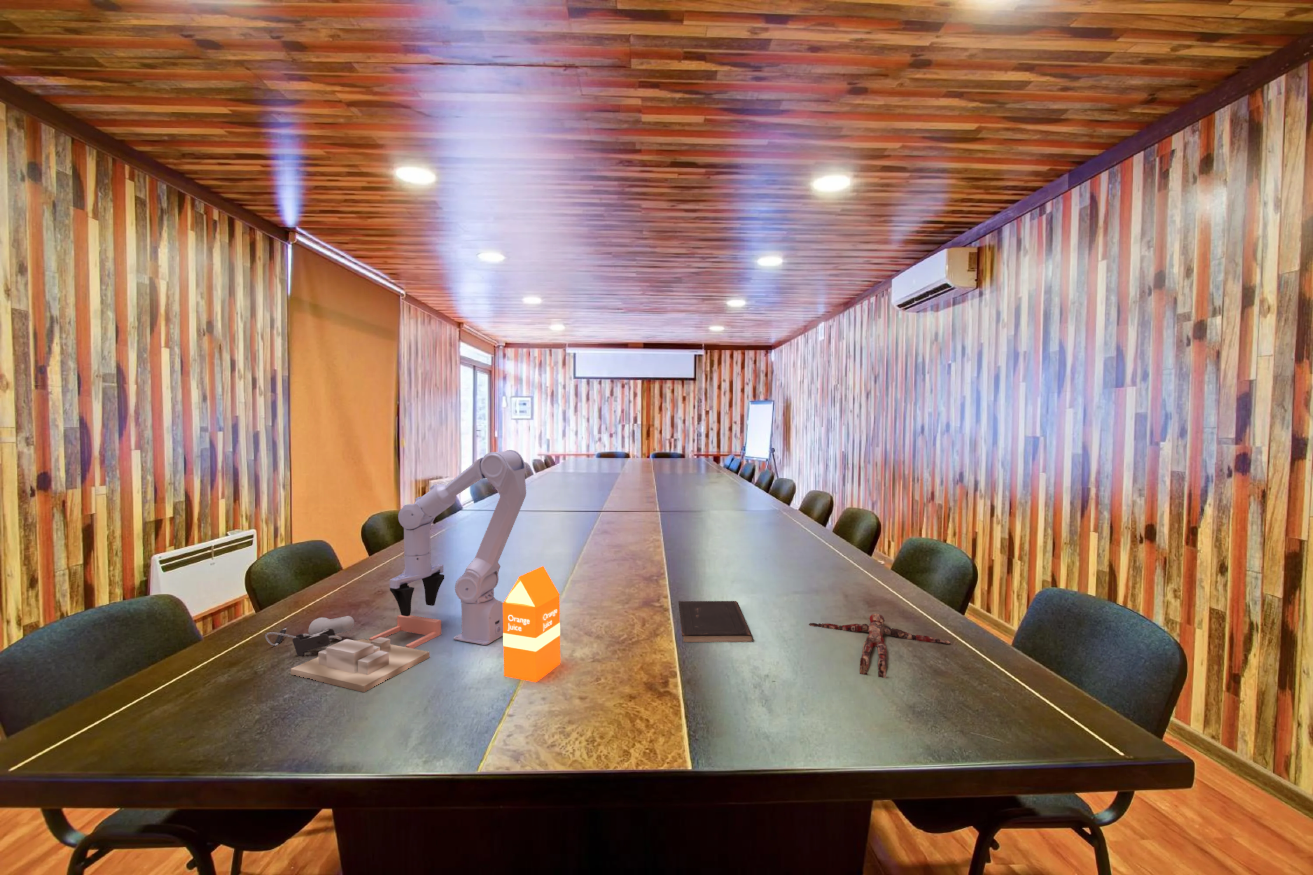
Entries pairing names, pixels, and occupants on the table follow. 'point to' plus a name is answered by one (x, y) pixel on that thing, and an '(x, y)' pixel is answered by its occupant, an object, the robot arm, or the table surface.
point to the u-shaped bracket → (414, 629)
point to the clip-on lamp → (317, 634)
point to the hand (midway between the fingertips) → (418, 609)
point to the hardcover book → (713, 622)
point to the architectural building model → (360, 663)
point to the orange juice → (531, 627)
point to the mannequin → (877, 640)
